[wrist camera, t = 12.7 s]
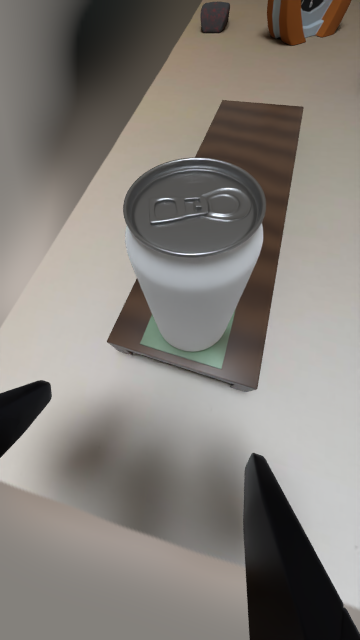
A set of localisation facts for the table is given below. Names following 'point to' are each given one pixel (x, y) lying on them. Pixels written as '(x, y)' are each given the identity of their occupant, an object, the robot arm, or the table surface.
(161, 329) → the can
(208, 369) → the shelf
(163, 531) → the table surface
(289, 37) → the alarm clock
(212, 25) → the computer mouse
